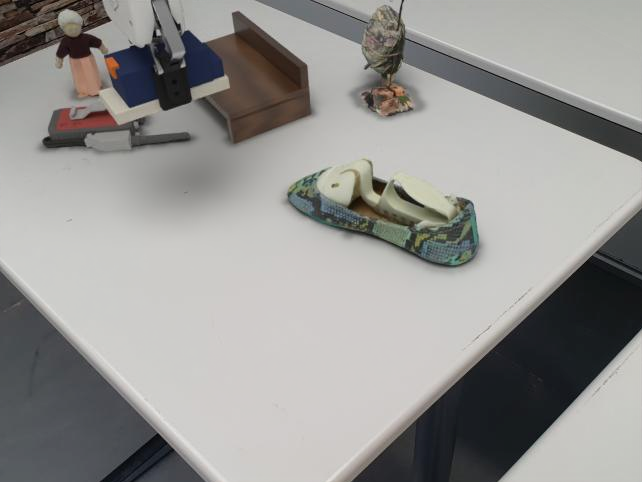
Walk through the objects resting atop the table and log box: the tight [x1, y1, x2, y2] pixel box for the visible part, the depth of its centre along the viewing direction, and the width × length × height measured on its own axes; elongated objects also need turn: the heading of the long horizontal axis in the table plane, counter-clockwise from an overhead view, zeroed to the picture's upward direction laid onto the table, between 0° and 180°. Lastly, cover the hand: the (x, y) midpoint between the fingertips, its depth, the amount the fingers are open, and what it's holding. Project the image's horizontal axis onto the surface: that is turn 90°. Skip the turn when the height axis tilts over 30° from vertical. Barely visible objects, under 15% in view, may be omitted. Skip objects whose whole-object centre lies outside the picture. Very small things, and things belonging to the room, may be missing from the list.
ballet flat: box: [286, 157, 480, 266], centre depth 78 cm, size 9×24×8 cm, turn 60°
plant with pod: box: [360, 0, 414, 118], centre depth 91 cm, size 8×11×20 cm
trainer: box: [98, 29, 230, 125], centre depth 68 cm, size 12×5×5 cm, turn 121°
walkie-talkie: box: [41, 100, 191, 152], centre depth 94 cm, size 9×4×20 cm
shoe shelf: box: [203, 10, 312, 145], centre depth 97 cm, size 12×20×8 cm, turn 32°
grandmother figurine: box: [54, 8, 109, 99], centre depth 99 cm, size 8×4×13 cm, turn 129°
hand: (165, 90), depth 70 cm, fingers closed on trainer, 5 cm apart
